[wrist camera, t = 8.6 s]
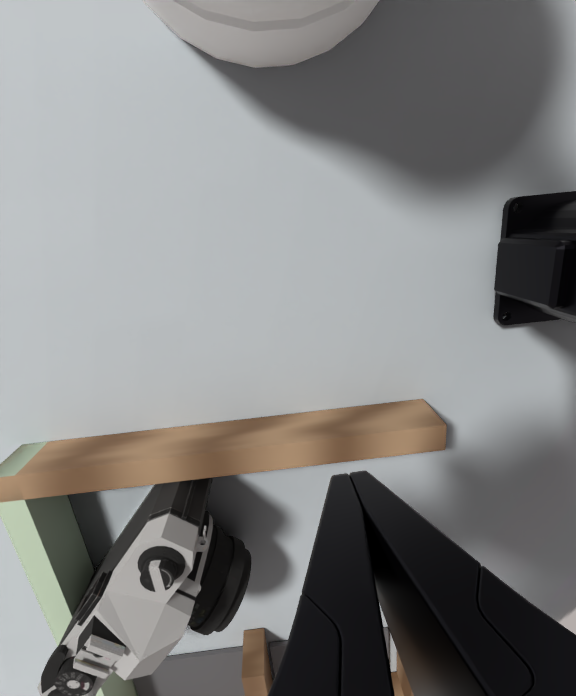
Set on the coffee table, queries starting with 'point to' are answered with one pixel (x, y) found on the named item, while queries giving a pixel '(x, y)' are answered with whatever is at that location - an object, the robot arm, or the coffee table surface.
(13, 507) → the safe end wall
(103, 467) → the trap box
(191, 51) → the coffee table surface
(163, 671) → the mats
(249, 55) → the honey pot
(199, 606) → the camera
